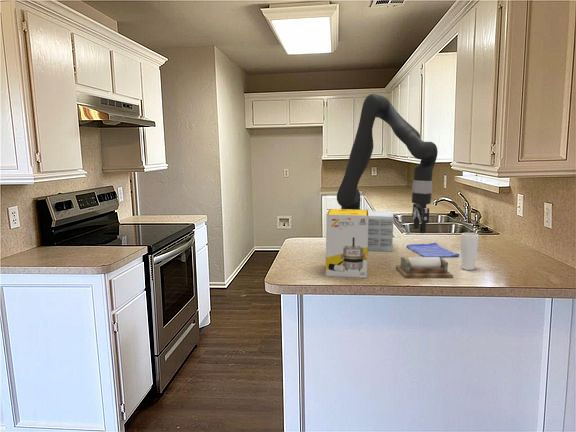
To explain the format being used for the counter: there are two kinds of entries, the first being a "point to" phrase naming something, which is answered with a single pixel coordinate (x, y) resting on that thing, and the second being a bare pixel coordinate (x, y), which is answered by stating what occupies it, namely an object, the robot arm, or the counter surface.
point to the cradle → (423, 270)
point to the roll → (424, 262)
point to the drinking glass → (469, 250)
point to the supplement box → (380, 231)
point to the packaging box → (346, 243)
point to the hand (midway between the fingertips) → (419, 230)
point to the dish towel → (432, 250)
